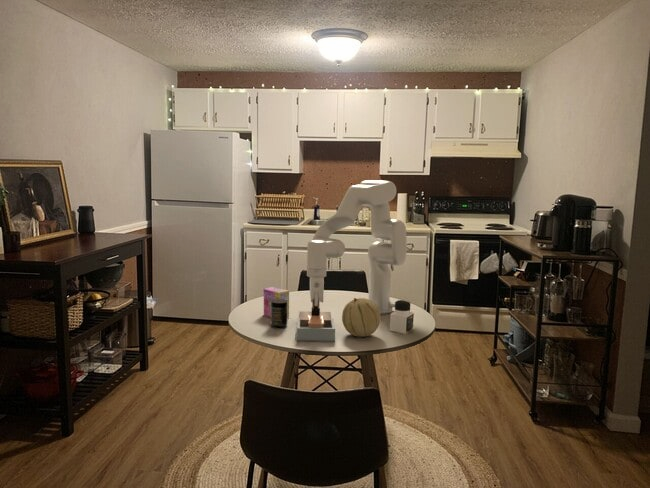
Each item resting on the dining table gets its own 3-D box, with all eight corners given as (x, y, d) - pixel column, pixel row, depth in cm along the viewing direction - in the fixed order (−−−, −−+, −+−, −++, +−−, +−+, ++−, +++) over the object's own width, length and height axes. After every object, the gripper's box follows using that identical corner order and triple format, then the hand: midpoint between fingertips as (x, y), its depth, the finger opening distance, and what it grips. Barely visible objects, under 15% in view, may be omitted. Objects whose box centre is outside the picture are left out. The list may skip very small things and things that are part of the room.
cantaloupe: (387, 338, 187) (389, 299, 185) (356, 344, 179) (358, 304, 177) (364, 327, 200) (365, 291, 198) (333, 333, 192) (334, 295, 190)
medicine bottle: (406, 334, 193) (407, 304, 191) (389, 330, 197) (390, 301, 195) (413, 329, 199) (414, 300, 197) (396, 326, 203) (398, 298, 201)
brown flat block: (330, 321, 207) (330, 311, 207) (331, 330, 196) (331, 320, 195) (299, 320, 207) (299, 311, 206) (298, 329, 195) (298, 319, 194)
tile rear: (322, 322, 193) (322, 315, 192) (322, 330, 188) (323, 323, 187) (308, 322, 193) (308, 315, 192) (308, 330, 188) (308, 323, 187)
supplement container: (288, 328, 196) (289, 302, 195) (271, 329, 195) (271, 303, 193) (285, 323, 203) (286, 298, 201) (269, 324, 201) (269, 299, 200)
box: (263, 315, 214) (263, 288, 212) (273, 312, 218) (273, 286, 216) (279, 320, 207) (279, 292, 205) (289, 317, 211) (289, 290, 209)
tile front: (323, 319, 186) (323, 323, 184) (322, 331, 189) (323, 336, 186) (308, 319, 186) (308, 323, 183) (308, 331, 188) (308, 336, 186)
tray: (332, 330, 195) (333, 317, 195) (334, 342, 181) (335, 328, 181) (297, 329, 195) (297, 317, 194) (296, 341, 181) (296, 328, 180)
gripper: (327, 276, 184) (325, 324, 187) (325, 268, 199) (324, 313, 201) (306, 275, 184) (305, 323, 186) (306, 268, 199) (305, 312, 201)
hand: (315, 318), depth 194 cm, fingers closed
